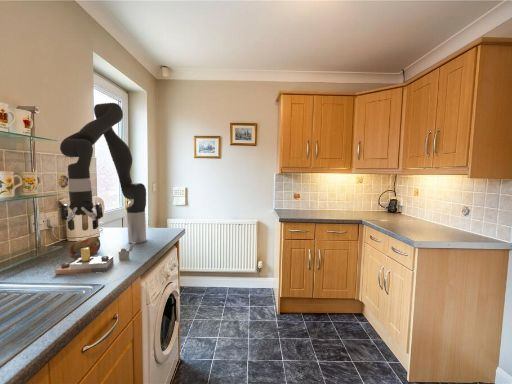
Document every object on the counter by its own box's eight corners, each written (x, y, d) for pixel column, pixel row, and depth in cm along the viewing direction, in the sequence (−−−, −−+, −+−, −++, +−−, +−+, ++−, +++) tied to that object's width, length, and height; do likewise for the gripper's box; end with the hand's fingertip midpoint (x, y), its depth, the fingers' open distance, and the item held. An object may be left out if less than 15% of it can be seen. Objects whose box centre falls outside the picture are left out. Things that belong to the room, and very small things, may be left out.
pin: (84, 268, 105) (83, 247, 104) (92, 268, 106) (90, 247, 105) (80, 271, 102) (79, 250, 101) (88, 271, 103) (87, 249, 102)
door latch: (66, 267, 106) (66, 255, 106) (113, 264, 109) (113, 253, 109) (55, 275, 99) (54, 262, 98) (106, 272, 102) (105, 260, 101)
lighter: (118, 260, 114) (117, 243, 113) (119, 259, 116) (118, 242, 115) (135, 259, 116) (135, 242, 115) (136, 257, 118) (135, 241, 117)
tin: (74, 262, 112) (73, 244, 111) (68, 261, 112) (67, 243, 111) (101, 251, 126) (100, 234, 125) (96, 250, 127) (95, 234, 126)
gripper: (103, 188, 105) (106, 226, 107) (66, 189, 103) (69, 227, 105) (95, 190, 98) (98, 231, 100) (54, 191, 95) (58, 232, 97)
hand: (83, 229), depth 102 cm, fingers open, 8 cm apart
